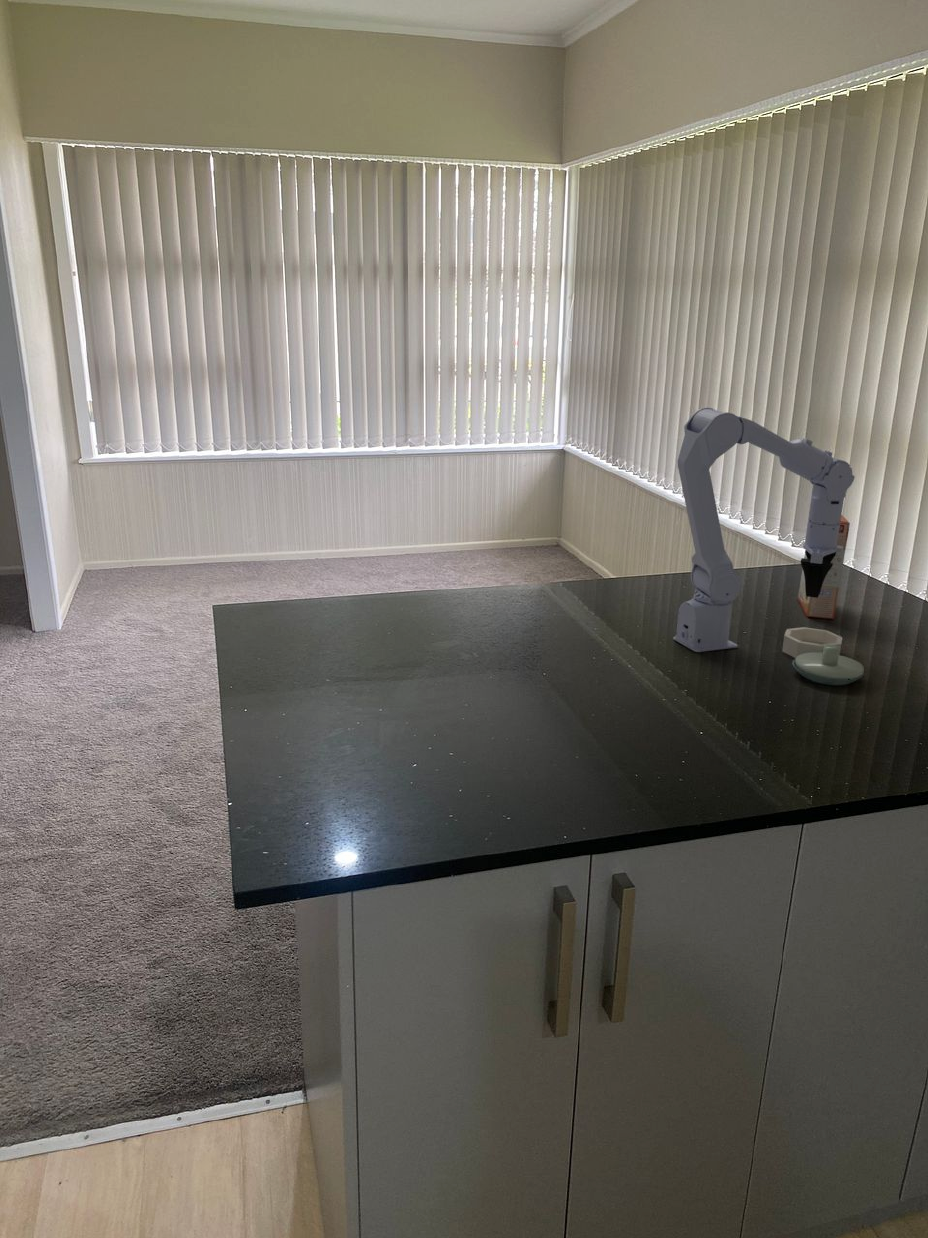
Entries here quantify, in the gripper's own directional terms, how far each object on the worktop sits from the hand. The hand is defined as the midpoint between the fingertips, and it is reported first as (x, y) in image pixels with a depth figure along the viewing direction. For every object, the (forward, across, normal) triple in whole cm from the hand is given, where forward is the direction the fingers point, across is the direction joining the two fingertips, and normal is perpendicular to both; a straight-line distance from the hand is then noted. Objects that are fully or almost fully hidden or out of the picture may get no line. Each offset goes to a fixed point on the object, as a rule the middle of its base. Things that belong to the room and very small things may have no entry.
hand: (813, 591), depth 181 cm
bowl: (+10, -7, -1) cm, 12 cm away
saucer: (+11, -19, -5) cm, 22 cm away
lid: (+8, -19, -5) cm, 21 cm away
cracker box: (+10, +23, 0) cm, 25 cm away
